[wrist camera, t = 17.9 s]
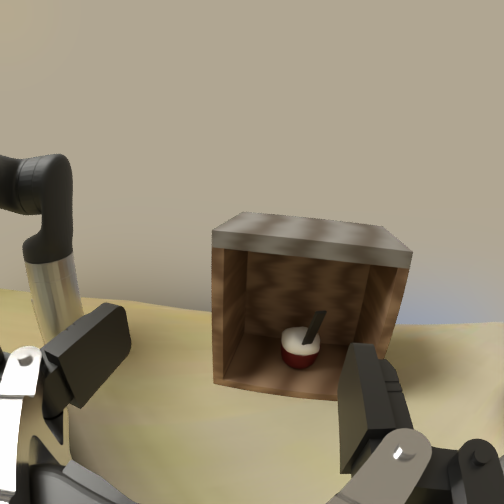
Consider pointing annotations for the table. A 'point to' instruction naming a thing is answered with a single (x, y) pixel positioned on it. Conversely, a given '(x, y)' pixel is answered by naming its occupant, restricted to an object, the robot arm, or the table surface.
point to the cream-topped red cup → (302, 343)
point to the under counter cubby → (300, 297)
